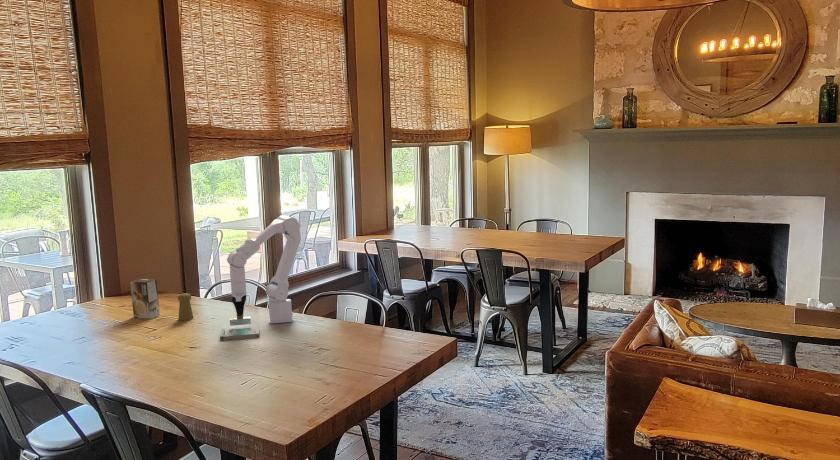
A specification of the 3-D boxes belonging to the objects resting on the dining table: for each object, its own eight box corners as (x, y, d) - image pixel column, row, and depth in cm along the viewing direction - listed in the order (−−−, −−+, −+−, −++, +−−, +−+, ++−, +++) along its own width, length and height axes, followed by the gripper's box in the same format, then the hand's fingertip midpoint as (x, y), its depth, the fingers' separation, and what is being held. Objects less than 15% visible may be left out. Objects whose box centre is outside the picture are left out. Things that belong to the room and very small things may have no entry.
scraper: (250, 322, 258) (249, 303, 256) (250, 324, 255) (249, 304, 254) (230, 324, 256) (229, 304, 254) (230, 325, 253) (228, 306, 252)
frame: (259, 329, 254) (259, 325, 253) (259, 337, 244) (259, 333, 244) (221, 332, 250) (221, 328, 250) (220, 340, 240) (220, 336, 240)
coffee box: (160, 315, 276) (157, 279, 273) (150, 319, 270) (147, 282, 267) (143, 313, 278) (140, 277, 276) (132, 317, 272) (129, 281, 270)
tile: (248, 332, 251) (248, 329, 251) (248, 337, 246) (248, 333, 245) (233, 334, 250) (232, 330, 250) (232, 338, 244) (232, 335, 244)
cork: (190, 320, 266) (188, 295, 265) (176, 321, 266) (174, 295, 265) (195, 316, 272) (193, 291, 271) (181, 316, 272) (179, 292, 271)
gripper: (228, 278, 259) (230, 310, 261) (226, 286, 245) (229, 320, 247) (246, 276, 260) (248, 308, 263) (245, 285, 246) (247, 318, 249)
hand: (240, 314), depth 255 cm, fingers closed on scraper, 2 cm apart
